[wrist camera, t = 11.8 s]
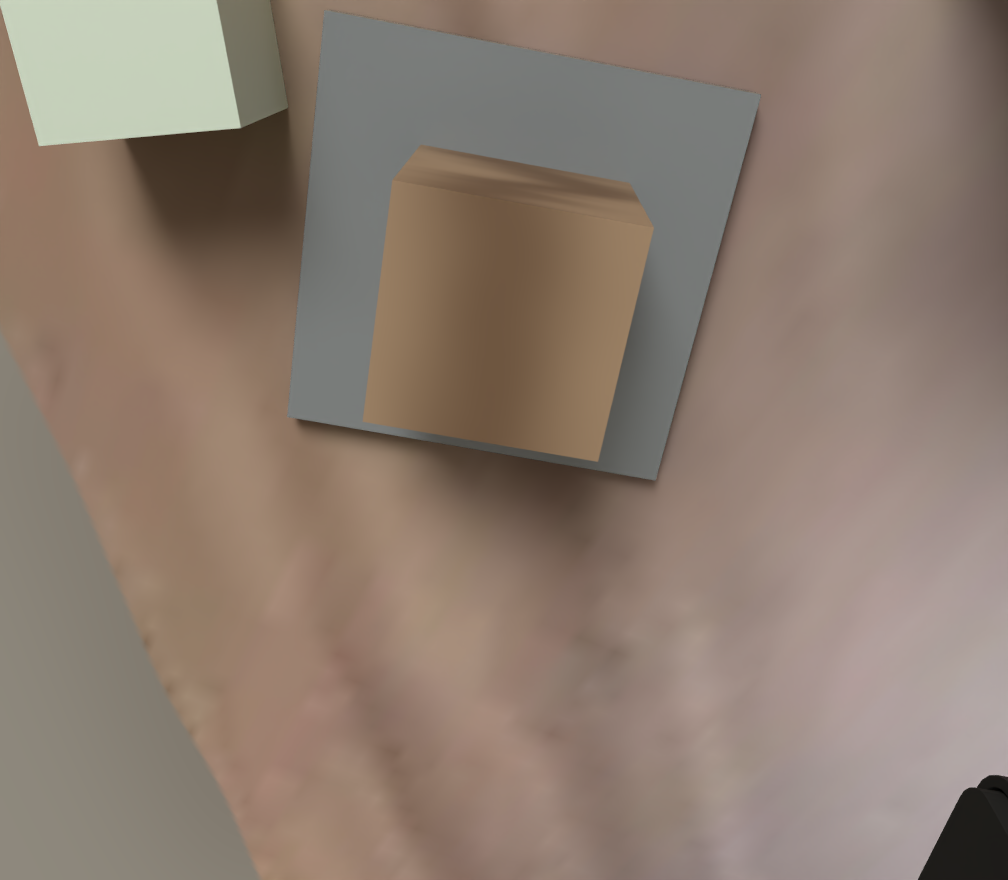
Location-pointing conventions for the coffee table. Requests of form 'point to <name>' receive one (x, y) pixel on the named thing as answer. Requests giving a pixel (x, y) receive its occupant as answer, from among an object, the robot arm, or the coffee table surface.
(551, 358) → the walnut cube
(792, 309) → the coffee table surface
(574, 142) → the slate coaster
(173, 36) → the pale green block
